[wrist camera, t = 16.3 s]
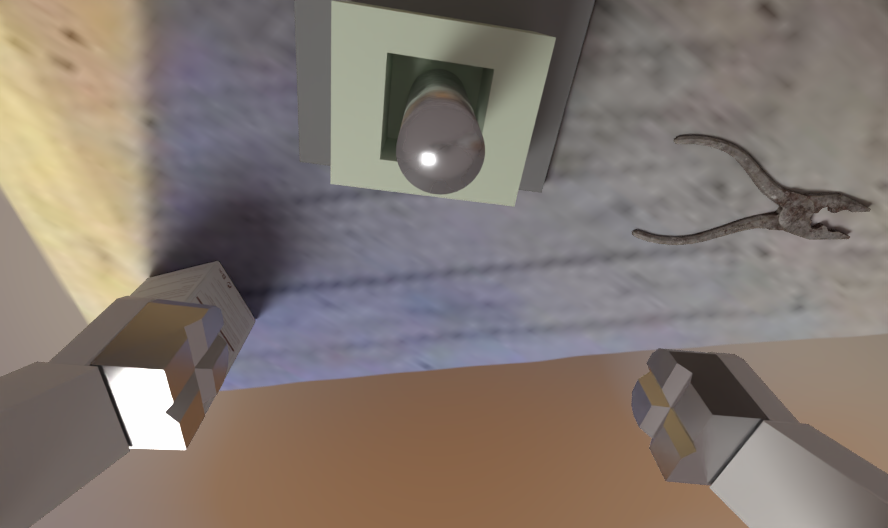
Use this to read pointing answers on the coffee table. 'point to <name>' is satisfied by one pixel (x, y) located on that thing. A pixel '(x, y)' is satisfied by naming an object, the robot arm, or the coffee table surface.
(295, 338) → the coffee table surface
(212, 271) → the supplement box
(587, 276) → the coffee table surface
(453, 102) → the grey cylindrical peg
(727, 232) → the pliers
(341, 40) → the frame
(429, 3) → the mat
